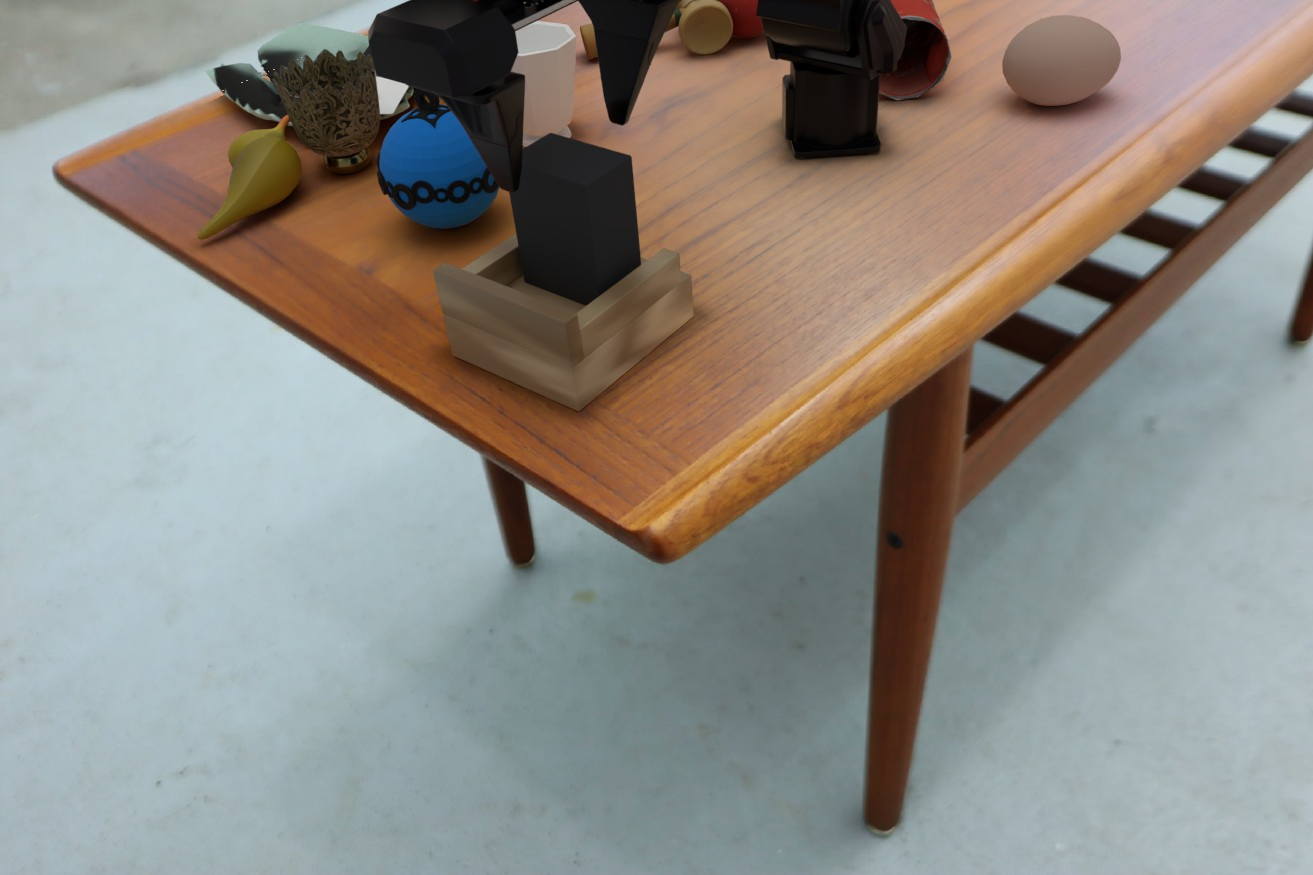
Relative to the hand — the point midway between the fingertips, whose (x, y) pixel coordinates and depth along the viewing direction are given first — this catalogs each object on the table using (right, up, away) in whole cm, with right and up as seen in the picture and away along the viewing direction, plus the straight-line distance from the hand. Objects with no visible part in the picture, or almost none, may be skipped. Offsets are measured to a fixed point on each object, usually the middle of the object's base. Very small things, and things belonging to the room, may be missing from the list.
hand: (566, 155), depth 60 cm
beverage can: (+25, +15, +33) cm, 44 cm away
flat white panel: (-18, +13, +30) cm, 37 cm away
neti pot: (-22, +4, +20) cm, 30 cm away
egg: (+31, +13, +24) cm, 42 cm away
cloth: (-25, +17, +36) cm, 47 cm away
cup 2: (-6, +9, +28) cm, 30 cm away
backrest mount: (0, -9, +7) cm, 11 cm away
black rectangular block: (+1, -6, +6) cm, 8 cm away
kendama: (+7, +20, +41) cm, 46 cm away
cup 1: (-19, +6, +26) cm, 33 cm away
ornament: (-10, 0, +18) cm, 21 cm away
